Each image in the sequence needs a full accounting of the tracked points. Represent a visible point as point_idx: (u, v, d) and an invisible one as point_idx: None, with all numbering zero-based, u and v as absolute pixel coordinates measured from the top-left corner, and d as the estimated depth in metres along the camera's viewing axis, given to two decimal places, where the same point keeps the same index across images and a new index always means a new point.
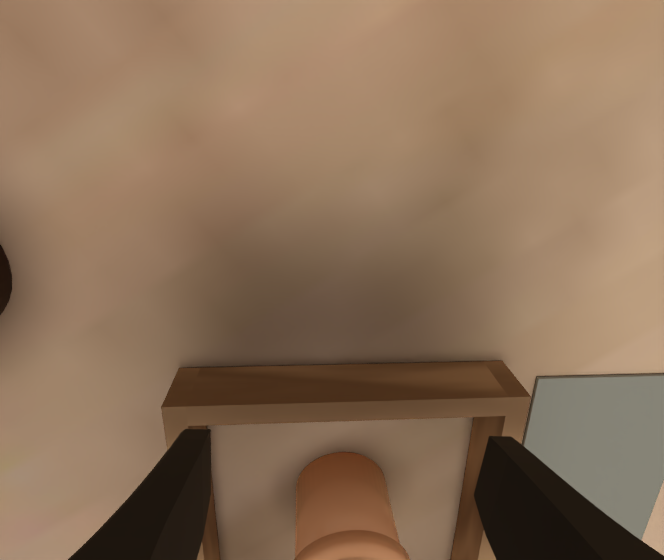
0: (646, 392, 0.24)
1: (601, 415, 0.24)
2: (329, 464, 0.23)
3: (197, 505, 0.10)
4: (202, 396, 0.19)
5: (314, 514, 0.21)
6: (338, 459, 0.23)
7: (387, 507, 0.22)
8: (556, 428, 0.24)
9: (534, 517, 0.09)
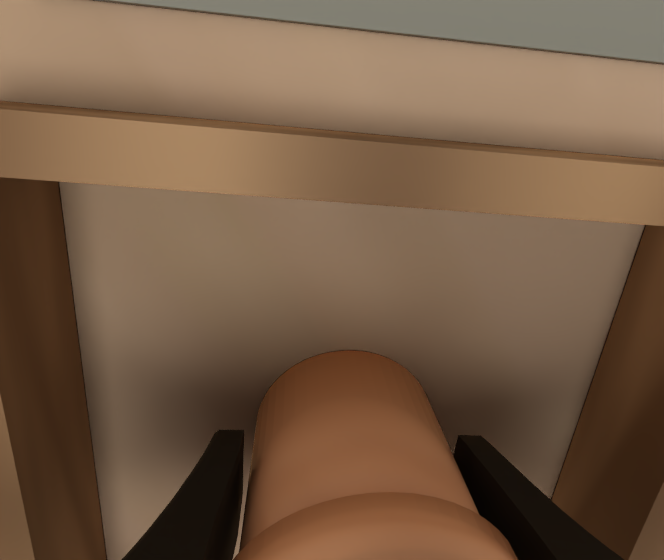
0: None
1: None
2: None
3: (234, 505, 0.10)
4: None
5: None
6: None
7: (298, 432, 0.09)
8: None
9: (497, 517, 0.09)
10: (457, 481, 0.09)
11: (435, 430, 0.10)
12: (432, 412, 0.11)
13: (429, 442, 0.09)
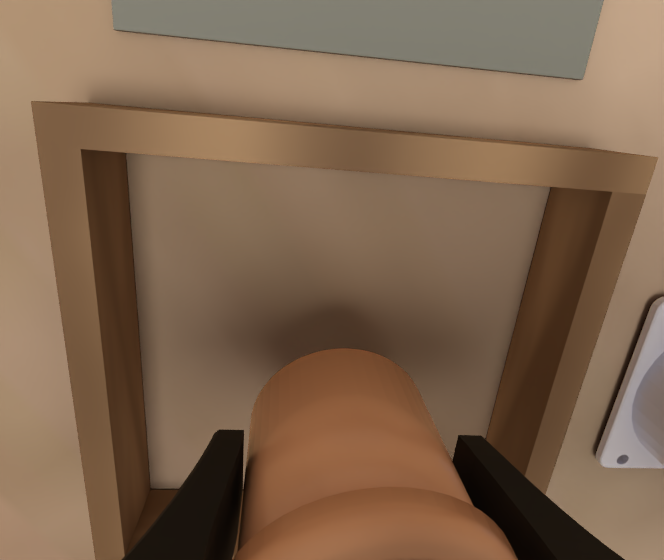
0: None
1: None
2: None
3: (234, 505, 0.10)
4: None
5: None
6: None
7: (294, 430, 0.09)
8: None
9: (497, 517, 0.09)
10: (452, 475, 0.09)
11: (429, 425, 0.10)
12: (425, 408, 0.11)
13: (424, 437, 0.09)
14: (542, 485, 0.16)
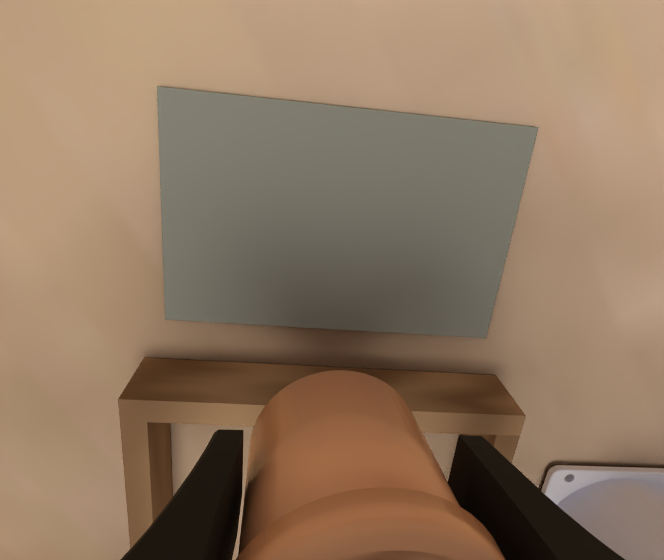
0: (187, 173, 0.17)
1: (226, 232, 0.17)
2: None
3: (233, 505, 0.10)
4: None
5: None
6: None
7: (294, 443, 0.10)
8: (243, 288, 0.18)
9: (498, 517, 0.09)
10: (443, 484, 0.09)
11: (422, 441, 0.11)
12: (418, 427, 0.12)
13: (417, 450, 0.10)
14: None
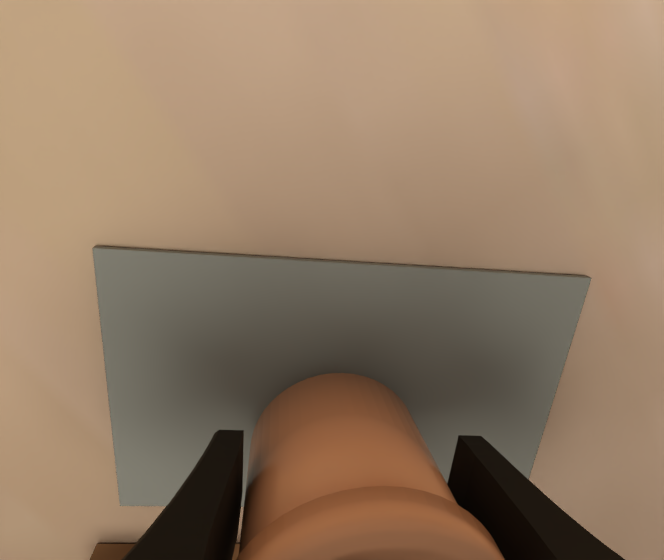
0: (139, 346, 0.13)
1: (191, 409, 0.14)
2: None
3: (234, 505, 0.10)
4: None
5: None
6: None
7: (294, 444, 0.10)
8: None
9: (497, 517, 0.09)
10: (443, 485, 0.09)
11: (421, 443, 0.11)
12: (418, 429, 0.12)
13: (416, 451, 0.10)
14: None
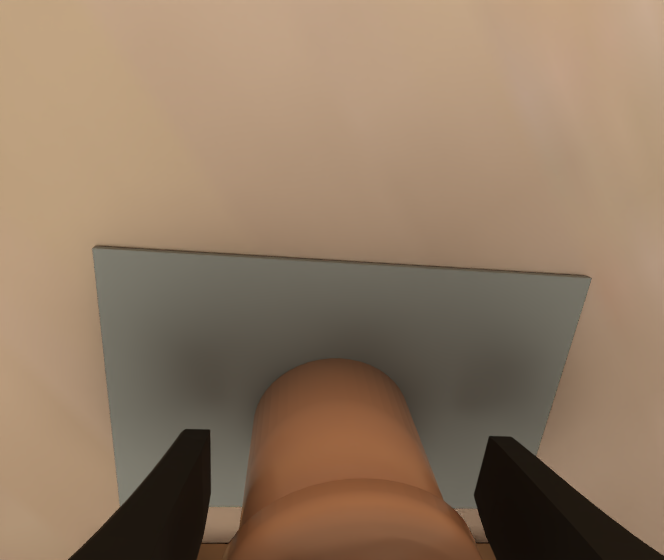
0: (139, 346, 0.13)
1: (191, 409, 0.14)
2: None
3: (197, 505, 0.10)
4: None
5: None
6: None
7: (290, 429, 0.11)
8: (217, 469, 0.15)
9: (534, 517, 0.09)
10: (425, 472, 0.10)
11: (409, 429, 0.12)
12: (408, 413, 0.13)
13: (403, 439, 0.11)
14: None
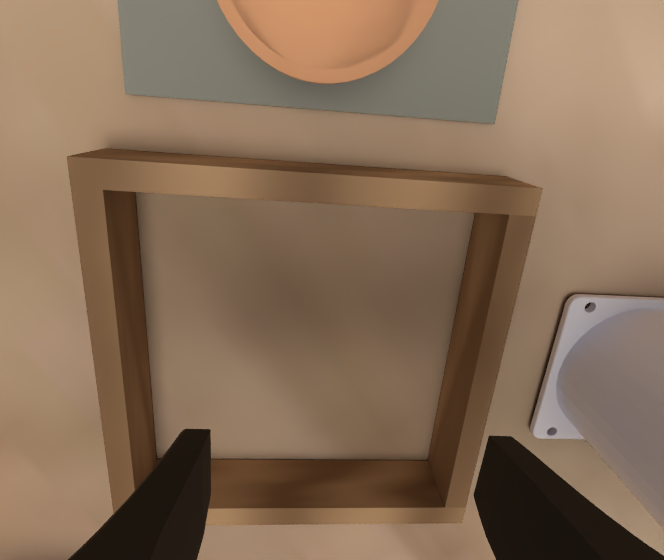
0: None
1: None
2: None
3: (197, 505, 0.10)
4: None
5: None
6: None
7: None
8: (214, 52, 0.16)
9: (534, 517, 0.09)
10: None
11: None
12: None
13: None
14: (474, 449, 0.20)
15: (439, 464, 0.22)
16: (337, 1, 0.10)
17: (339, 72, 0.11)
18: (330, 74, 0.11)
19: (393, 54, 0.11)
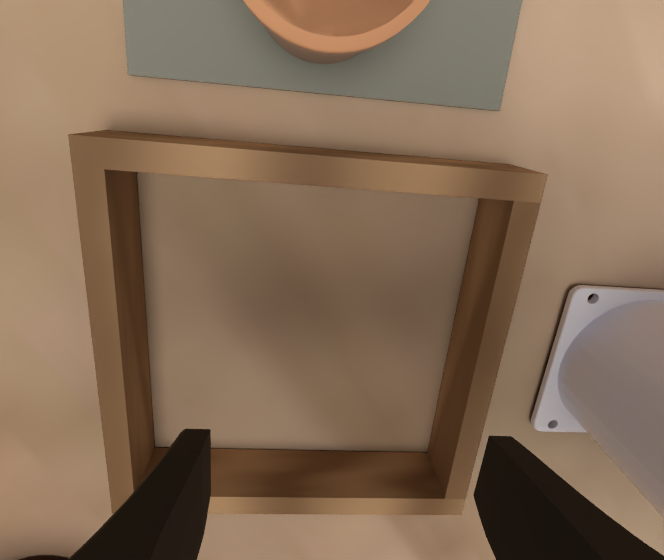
0: None
1: None
2: None
3: (197, 505, 0.10)
4: None
5: None
6: None
7: None
8: (218, 33, 0.16)
9: (534, 517, 0.09)
10: None
11: None
12: None
13: None
14: (475, 439, 0.20)
15: (439, 456, 0.22)
16: None
17: (348, 40, 0.11)
18: (339, 42, 0.11)
19: (404, 20, 0.11)
